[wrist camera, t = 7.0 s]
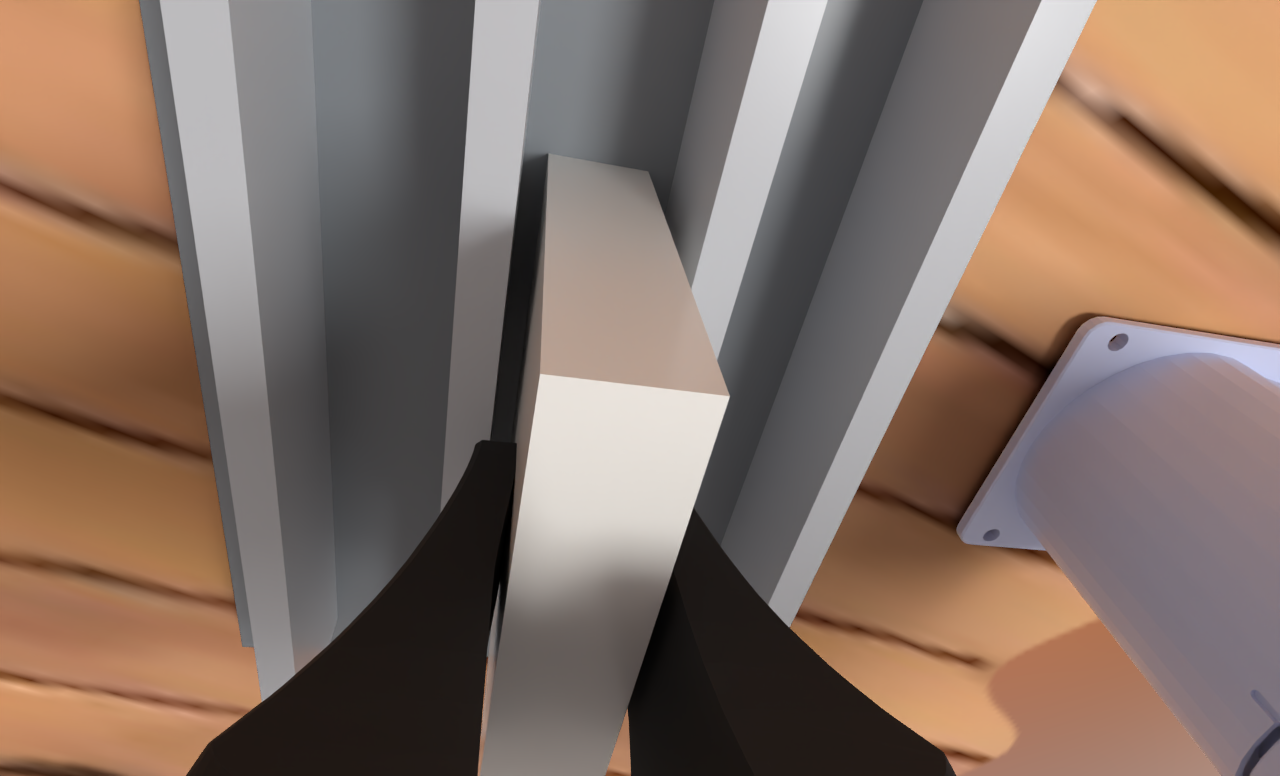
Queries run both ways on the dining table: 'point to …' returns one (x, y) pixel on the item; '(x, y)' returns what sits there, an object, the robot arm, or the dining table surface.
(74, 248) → the dining table surface
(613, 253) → the cream plate
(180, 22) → the dish rack
